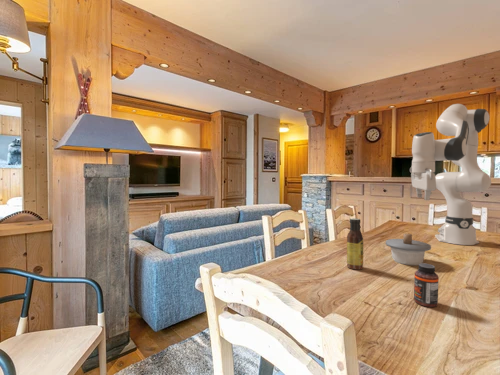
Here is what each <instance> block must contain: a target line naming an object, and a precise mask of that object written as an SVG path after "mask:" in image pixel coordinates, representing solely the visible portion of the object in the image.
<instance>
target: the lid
mask: <svg viewBox="0 0 500 375" xmlns="http://www.w3.org/2000/svg"><path fill="white" fill-rule="evenodd" d="M385 246H388V247H390V248H391V247H392V248H396V249H400V250H407V251H425V252H427V251H428V252H429V251H431V250H432V245H431V244H429V243H427V242H424V241H419V240H414V239H413V234H412V233H403V238H391V239H387V240H385Z"/></svg>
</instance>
